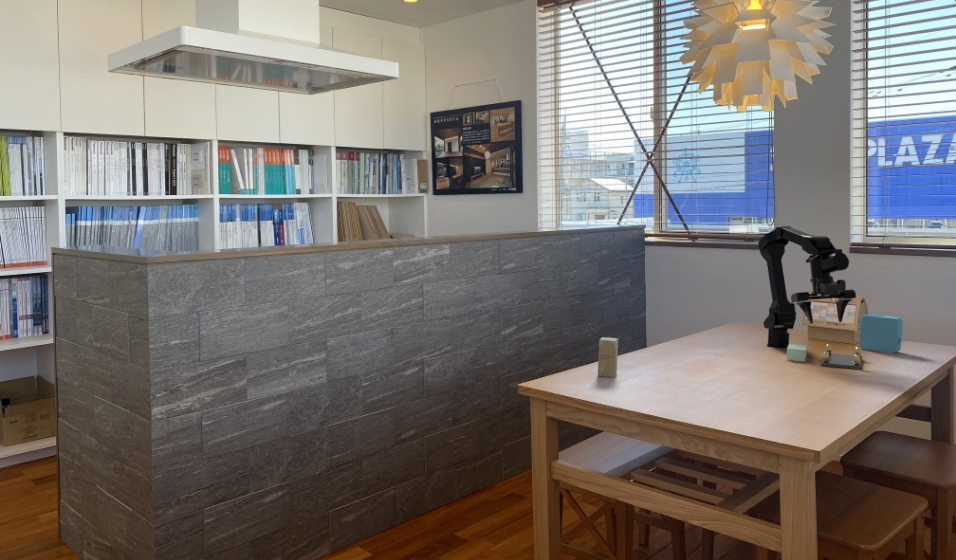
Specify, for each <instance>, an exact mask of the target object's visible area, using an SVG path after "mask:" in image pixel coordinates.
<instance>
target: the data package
mask: <svg viewBox="0 0 956 560" xmlns="http://www.w3.org/2000/svg"><path fill="white" fill-rule="evenodd" d="M903 324H904V323H903V320H902V318H901V317H899V316H891V315H882V314H873V313H870V314H869V313H868V314H865V315H863V316H862V317H861V318H860V329H859V343H858V344H859V347H860V348H861V350H865V351H871V352H877V351H878V352H880V353H884V352H885V353H886V354H896V353H897V352H899V351H901V349H902V335H903V334H902V333H903ZM885 353H884V354H885Z"/></svg>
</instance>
